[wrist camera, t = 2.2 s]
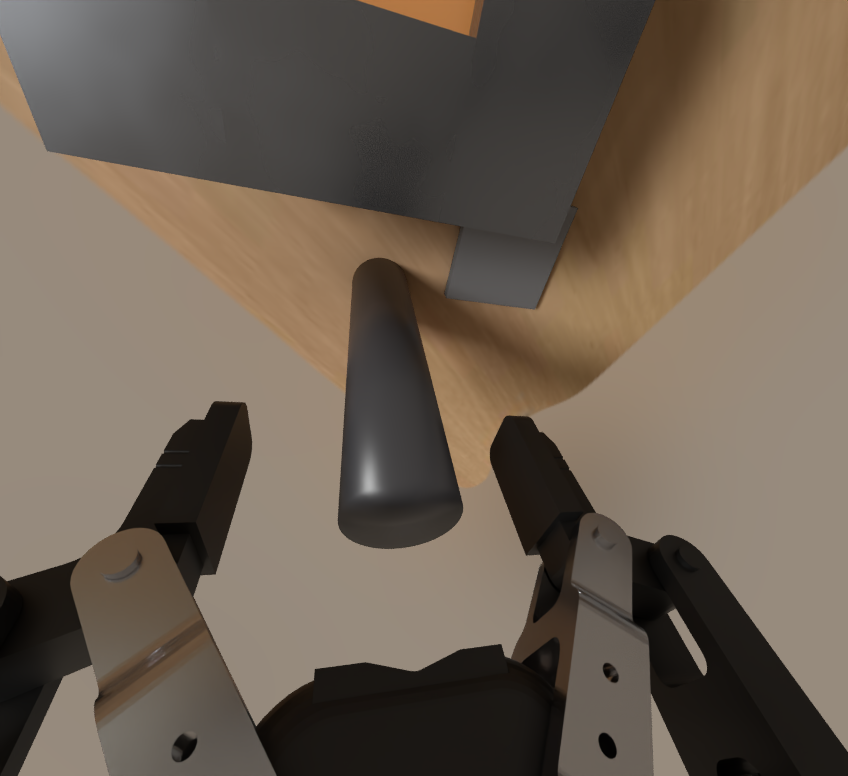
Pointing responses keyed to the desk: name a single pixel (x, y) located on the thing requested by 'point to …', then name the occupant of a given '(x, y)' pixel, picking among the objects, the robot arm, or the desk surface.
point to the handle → (392, 423)
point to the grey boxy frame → (336, 98)
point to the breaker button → (433, 11)
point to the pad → (502, 266)
